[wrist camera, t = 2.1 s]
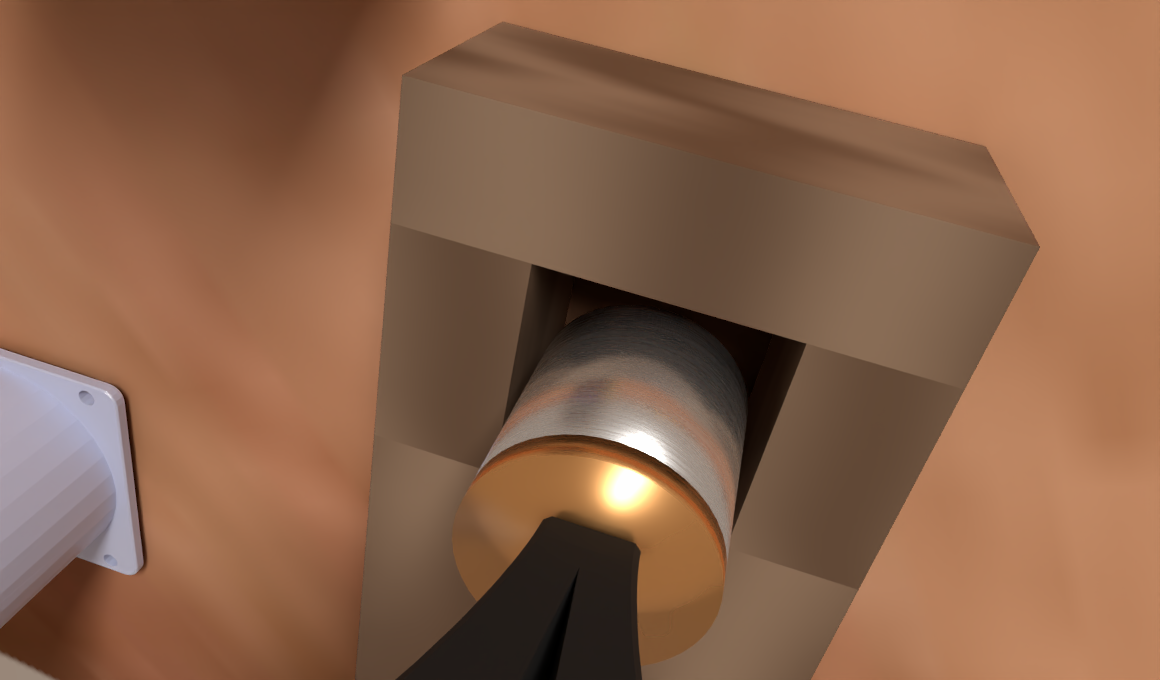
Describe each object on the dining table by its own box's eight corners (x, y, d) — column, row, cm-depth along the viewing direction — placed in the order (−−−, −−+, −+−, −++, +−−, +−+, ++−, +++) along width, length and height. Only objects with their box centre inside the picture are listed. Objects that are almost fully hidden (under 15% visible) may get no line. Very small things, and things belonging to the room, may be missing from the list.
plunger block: (404, 746, 32) (339, 884, 27) (502, 21, 18) (402, 75, 14) (666, 841, 30) (640, 1000, 26) (986, 146, 17) (1039, 246, 12)
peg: (523, 449, 17) (438, 616, 14) (557, 278, 15) (468, 419, 11) (714, 509, 17) (683, 700, 13) (777, 342, 15) (760, 511, 11)
